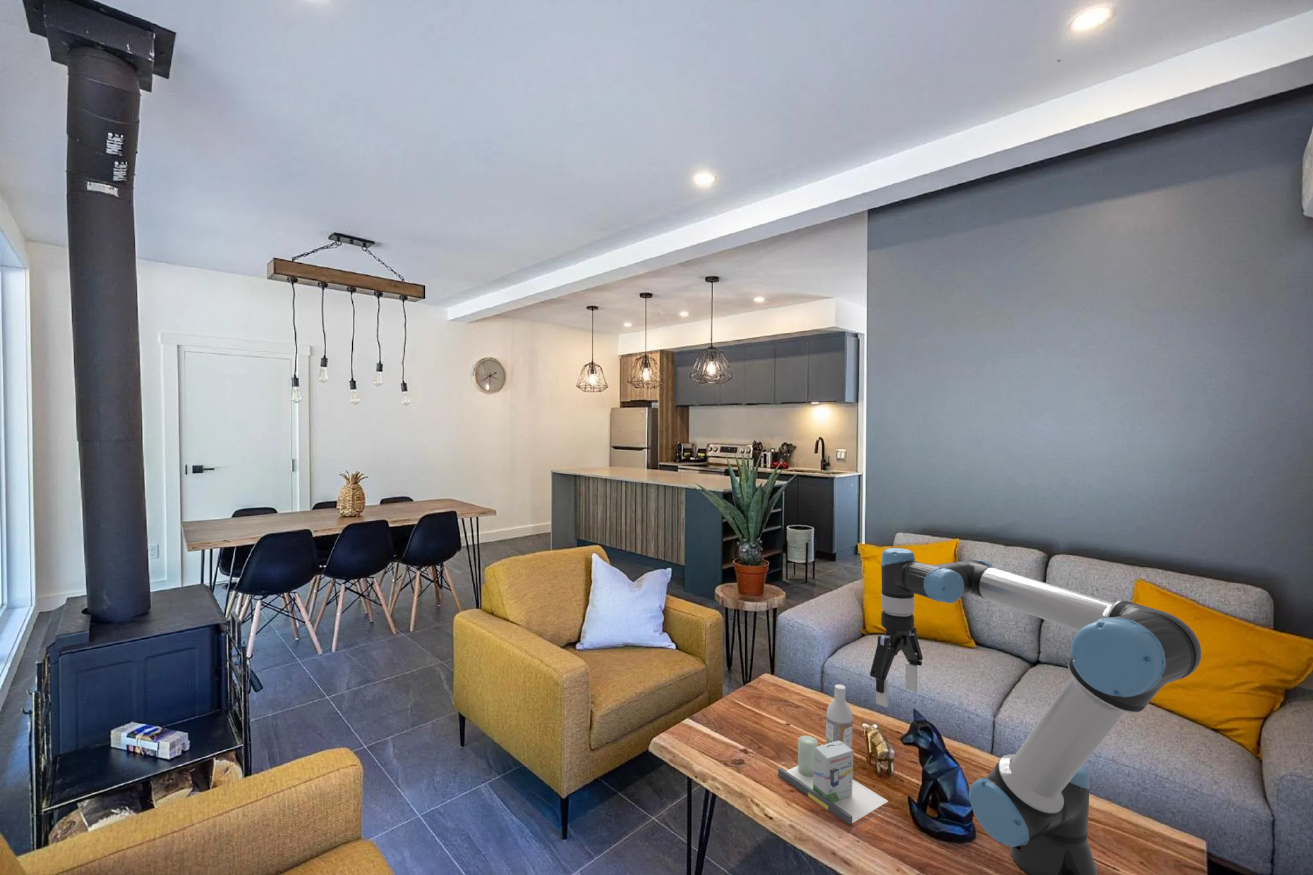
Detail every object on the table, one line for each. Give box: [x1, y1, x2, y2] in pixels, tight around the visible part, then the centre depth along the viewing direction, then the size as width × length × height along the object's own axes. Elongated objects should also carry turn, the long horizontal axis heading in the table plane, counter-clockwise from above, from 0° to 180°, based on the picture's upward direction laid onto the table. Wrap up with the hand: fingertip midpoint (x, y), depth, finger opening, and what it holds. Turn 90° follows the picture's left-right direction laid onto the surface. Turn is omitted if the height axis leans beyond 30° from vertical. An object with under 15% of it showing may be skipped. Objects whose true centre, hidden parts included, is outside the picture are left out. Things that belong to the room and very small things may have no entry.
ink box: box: [813, 741, 855, 803], centre depth 140 cm, size 9×5×12 cm, turn 116°
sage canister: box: [797, 735, 819, 777], centre depth 150 cm, size 5×5×8 cm
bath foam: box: [825, 684, 854, 750], centre depth 159 cm, size 7×7×20 cm
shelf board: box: [777, 765, 889, 832], centre depth 143 cm, size 22×15×3 cm
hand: (897, 697), depth 142 cm, fingers open, 13 cm apart
